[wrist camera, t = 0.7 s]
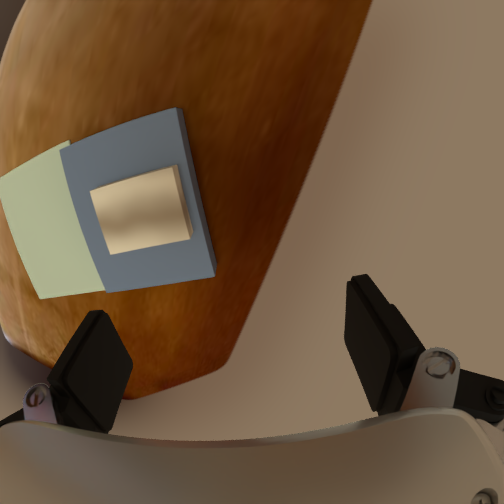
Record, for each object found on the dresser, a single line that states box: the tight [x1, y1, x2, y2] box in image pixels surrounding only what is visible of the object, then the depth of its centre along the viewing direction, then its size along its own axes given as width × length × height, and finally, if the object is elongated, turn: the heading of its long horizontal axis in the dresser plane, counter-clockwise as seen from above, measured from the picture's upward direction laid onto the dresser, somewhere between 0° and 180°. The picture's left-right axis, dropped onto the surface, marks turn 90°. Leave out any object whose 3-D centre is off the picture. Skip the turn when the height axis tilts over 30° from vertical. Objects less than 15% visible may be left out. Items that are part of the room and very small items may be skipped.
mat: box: [0, 140, 105, 299], centre depth 30 cm, size 20×16×1 cm
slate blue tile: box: [59, 107, 217, 293], centre depth 28 cm, size 18×14×3 cm
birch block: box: [90, 165, 193, 255], centre depth 26 cm, size 7×9×2 cm
